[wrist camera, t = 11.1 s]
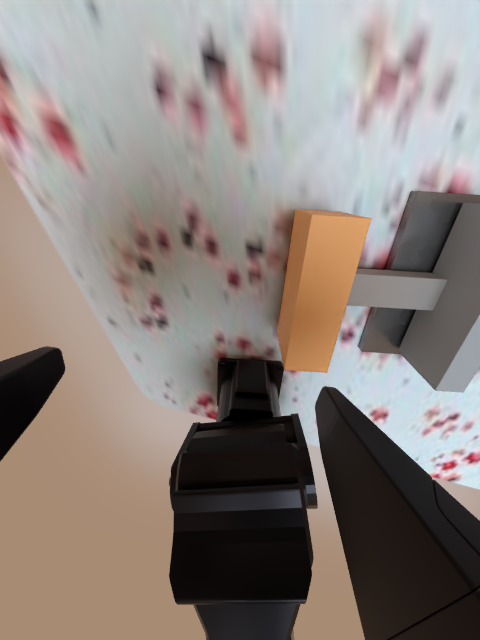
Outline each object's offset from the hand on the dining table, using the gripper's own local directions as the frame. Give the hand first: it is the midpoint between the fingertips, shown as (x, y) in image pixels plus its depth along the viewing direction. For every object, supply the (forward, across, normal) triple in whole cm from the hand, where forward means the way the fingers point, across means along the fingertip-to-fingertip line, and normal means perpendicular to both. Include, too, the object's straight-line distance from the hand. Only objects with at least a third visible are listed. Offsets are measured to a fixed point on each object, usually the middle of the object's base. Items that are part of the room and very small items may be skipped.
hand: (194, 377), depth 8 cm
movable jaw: (+12, -11, -1) cm, 16 cm away
